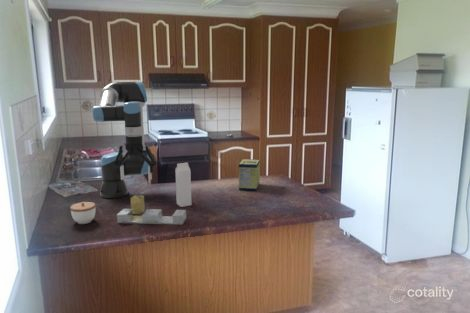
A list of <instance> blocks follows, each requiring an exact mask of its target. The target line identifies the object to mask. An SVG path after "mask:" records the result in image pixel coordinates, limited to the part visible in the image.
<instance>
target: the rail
mask: <svg viewBox="0 0 470 313" xmlns="http://www.w3.org/2000/svg"><path fill="white" fill-rule="evenodd" d="M116 219H117V224H143V225H144V224H145V225H184V223H185V221H186V219H187V209H175V211H174V213H173V214H172V215H171V216H170V215H169V216H167V215H165V216H164V215H163V209H162V208H159V209H158V208H157V209H155V208H154V209H153V208H149V209H148V208H147V209H146V210H145V211H144V212H143V214H142V215H134V214H133V209H131V208H122V209H121V210H120V211H119V212H118V213H117V214H116Z"/></svg>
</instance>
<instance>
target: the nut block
mask: <svg viewBox="0 0 470 313" xmlns="http://www.w3.org/2000/svg"><path fill="white" fill-rule="evenodd" d="M130 209H133V215H140V216H142V214H143V213H144V212H145V211H146V210H145V209H146V208H145V195H144V194H143V195H142V194H140V195H138V194H137V195H136V194H135V195H134V194H133V196H132V197H130Z"/></svg>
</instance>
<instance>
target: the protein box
mask: <svg viewBox="0 0 470 313" xmlns="http://www.w3.org/2000/svg"><path fill="white" fill-rule="evenodd" d="M260 162H261V161H260V159H255V158H253V159H251V158H243V159H242V160H241V161H240V162H239V164H238V190H239V191H249V192H250V191H251V192H257V191H258V188H259V186H260V168H261V167H260V165H261V164H260Z"/></svg>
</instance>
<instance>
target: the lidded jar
mask: <svg viewBox="0 0 470 313" xmlns="http://www.w3.org/2000/svg"><path fill="white" fill-rule="evenodd" d="M69 208H70V214H71V217H72V219H73V221H74V222H76V223H77V224H78V225H85V224H89V223H91V222H92V220H93V219H94V218H95V216H96V210H97V209H96V208H97V207H96V203H95V202H93V201H81V202H77V203H73V204H71V206H70V207H69Z"/></svg>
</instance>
